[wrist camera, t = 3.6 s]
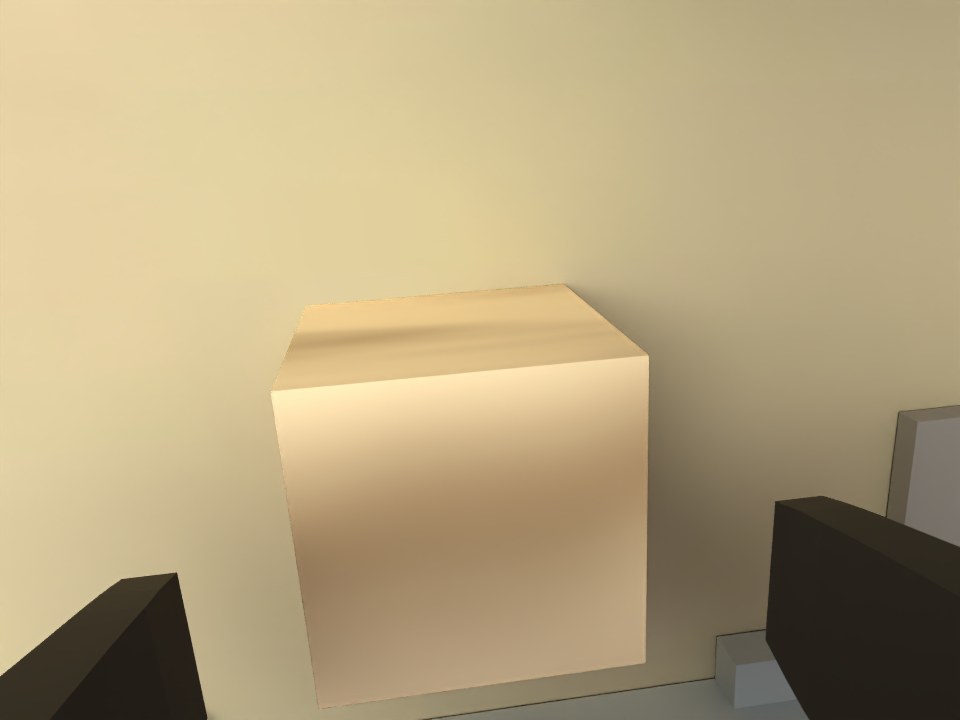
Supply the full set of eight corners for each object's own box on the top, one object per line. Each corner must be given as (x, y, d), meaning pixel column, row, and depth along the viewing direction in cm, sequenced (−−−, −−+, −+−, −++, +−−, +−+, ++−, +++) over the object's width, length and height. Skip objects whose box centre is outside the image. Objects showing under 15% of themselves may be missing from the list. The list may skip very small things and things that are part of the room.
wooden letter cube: (572, 507, 16) (651, 662, 12) (337, 535, 16) (318, 708, 11) (567, 282, 15) (656, 354, 10) (306, 305, 14) (270, 392, 10)
